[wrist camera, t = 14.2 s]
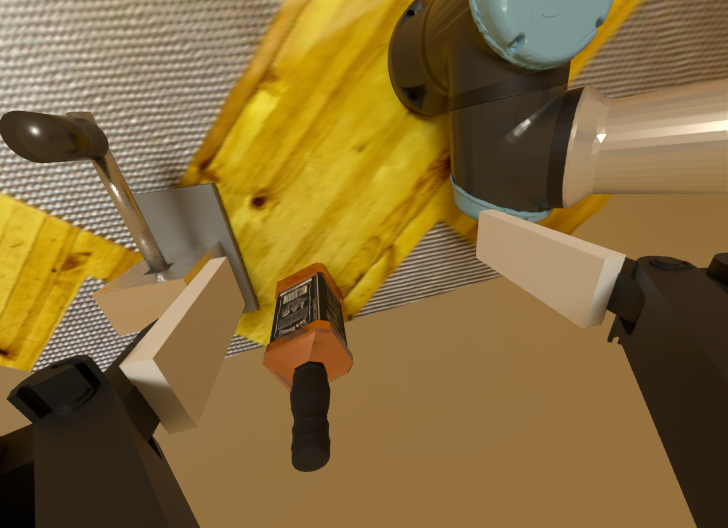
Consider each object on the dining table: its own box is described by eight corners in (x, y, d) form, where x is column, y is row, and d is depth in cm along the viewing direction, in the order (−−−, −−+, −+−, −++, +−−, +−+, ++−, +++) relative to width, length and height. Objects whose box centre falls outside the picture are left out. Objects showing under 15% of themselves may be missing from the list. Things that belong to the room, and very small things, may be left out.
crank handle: (65, 116, 28) (-19, 106, 21) (106, 112, 28) (38, 100, 21) (155, 281, 37) (118, 314, 30) (185, 275, 37) (155, 306, 30)
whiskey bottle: (300, 319, 55) (291, 506, 27) (273, 284, 51) (229, 463, 22) (343, 297, 55) (381, 461, 26) (320, 260, 50) (337, 409, 22)
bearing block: (155, 251, 43) (91, 295, 30) (218, 240, 44) (183, 278, 31) (171, 282, 45) (119, 335, 33) (230, 271, 46) (202, 318, 34)
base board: (118, 196, 40) (112, 198, 38) (214, 182, 41) (210, 183, 40) (184, 321, 50) (181, 325, 49) (258, 305, 52) (257, 310, 51)
